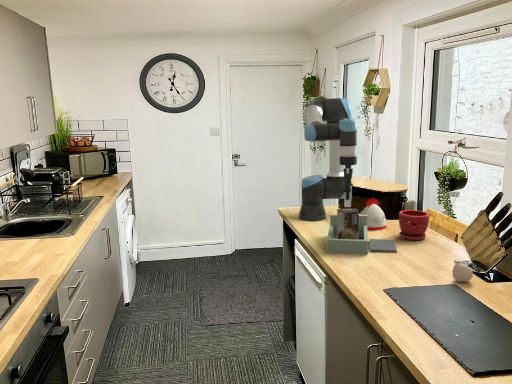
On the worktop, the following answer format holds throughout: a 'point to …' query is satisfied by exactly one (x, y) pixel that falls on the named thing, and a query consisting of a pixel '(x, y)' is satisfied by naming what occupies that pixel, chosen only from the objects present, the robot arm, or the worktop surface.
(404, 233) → the plant pot
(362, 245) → the green drawer
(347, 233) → the coffee box
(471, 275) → the garlic bulb
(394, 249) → the rubber mat
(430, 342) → the worktop surface
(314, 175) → the robot arm
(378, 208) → the kitchen timer
